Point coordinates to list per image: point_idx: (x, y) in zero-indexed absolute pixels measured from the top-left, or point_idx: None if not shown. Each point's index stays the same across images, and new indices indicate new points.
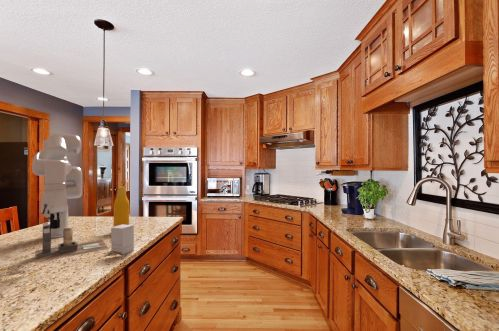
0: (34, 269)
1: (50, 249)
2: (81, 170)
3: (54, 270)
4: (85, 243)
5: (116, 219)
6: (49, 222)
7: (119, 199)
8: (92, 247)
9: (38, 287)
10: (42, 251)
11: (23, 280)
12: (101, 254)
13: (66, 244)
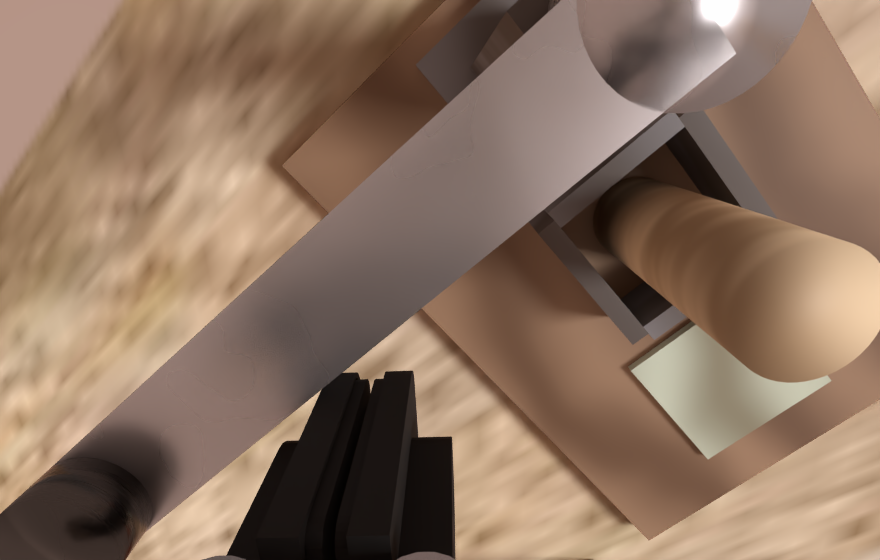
0: (215, 240)
1: None
2: None
3: None
4: (876, 237)
5: None
6: (780, 12)
7: None
8: (681, 413)
9: (4, 491)
10: (473, 65)
11: (42, 331)
12: (562, 510)
13: (620, 252)
